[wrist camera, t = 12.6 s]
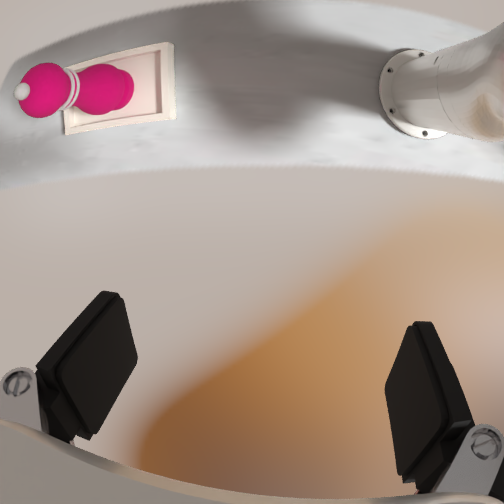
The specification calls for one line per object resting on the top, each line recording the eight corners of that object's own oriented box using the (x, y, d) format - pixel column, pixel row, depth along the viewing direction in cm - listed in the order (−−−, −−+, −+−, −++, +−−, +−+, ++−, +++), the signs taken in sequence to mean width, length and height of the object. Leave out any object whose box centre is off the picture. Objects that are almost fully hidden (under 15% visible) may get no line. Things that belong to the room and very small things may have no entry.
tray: (174, 44, 36) (167, 41, 34) (176, 118, 41) (169, 119, 39) (71, 69, 39) (62, 68, 36) (74, 133, 43) (65, 135, 41)
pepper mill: (88, 92, 39) (-13, 99, 21) (119, 56, 37) (20, 42, 19) (114, 123, 41) (15, 143, 23) (147, 88, 38) (51, 84, 20)
